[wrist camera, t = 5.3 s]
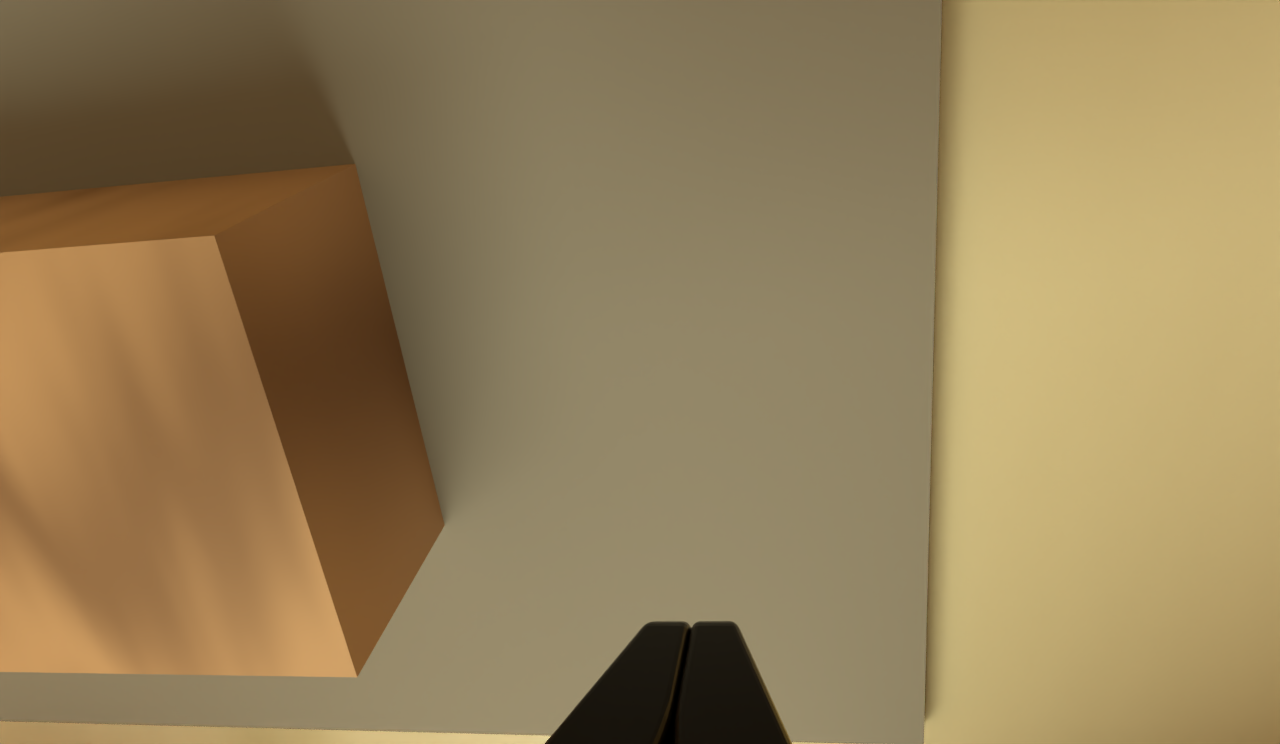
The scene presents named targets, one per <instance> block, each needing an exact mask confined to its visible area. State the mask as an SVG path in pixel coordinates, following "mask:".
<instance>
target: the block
mask: <svg viewBox="0 0 1280 744" xmlns="http://www.w3.org/2000/svg"><path fill="white" fill-rule="evenodd" d="M444 526H445V525H444V521H443V517H442V513H441V509H440V505H439V501H438V497H437V493H436V489H435V484H434V480H433V476H432V472H431V468H430V464H429V460H428V456H427V452H426V448H425V444H424V440H423V436H422V432H421V428H420V424H419V420H418V416H417V412H416V408H415V404H414V400H413V396H412V392H411V387H410V383H409V379H408V375H407V371H406V367H405V363H404V359H403V355H402V351H401V347H400V343H399V339H398V335H397V331H396V327H395V323H394V319H393V315H392V311H391V307H390V303H389V299H388V294H387V290H386V286H385V282H384V278H383V274H382V270H381V266H380V262H379V258H378V254H377V250H376V246H375V242H374V238H373V234H372V230H371V226H370V222H369V218H368V214H367V210H366V206H365V202H364V197H363V193H362V189H361V185H360V181H359V177H358V173H357V169H356V165H355V164H348V165H337V166H327V167H316V168H305V169H294V170H284V171H273V172H262V173H251V174H241V175H230V176H219V177H208V178H198V179H187V180H176V181H165V182H154V183H144V184H133V185H122V186H111V187H101V188H90V189H79V190H68V191H58V192H47V193H36V194H25V195H15V196H4V197H0V672H40V673H107V674H173V675H239V676H305V677H358V675H359V673H360V672H361V670H362V668H363V667H364V665H365V663H366V661H367V660H368V658H369V656H370V654H371V653H372V651H373V649H374V647H375V646H376V644H377V642H378V640H379V639H380V637H381V635H382V633H383V632H384V630H385V628H386V627H387V625H388V623H389V621H390V620H391V618H392V616H393V614H394V613H395V611H396V609H397V607H398V606H399V604H400V602H401V600H402V599H403V597H404V595H405V594H406V592H407V590H408V588H409V587H410V585H411V583H412V581H413V580H414V578H415V576H416V574H417V573H418V571H419V569H420V567H421V566H422V564H423V562H424V561H425V559H426V557H427V555H428V554H429V552H430V550H431V548H432V547H433V545H434V543H435V541H436V540H437V538H438V536H439V534H440V533H441V531H442V529H443V528H444Z"/></svg>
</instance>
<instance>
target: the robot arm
mask: <svg viewBox="0 0 1280 744" xmlns="http://www.w3.org/2000/svg"><path fill="white" fill-rule="evenodd" d="M545 744H792V742H791V740H790V738H789V736H788V733H787V731H786V729H785V727H784V725H783V722H782V720H781V718H780V716H779V714H778V711H777V709H776V707H775V705H774V703H773V700H772V698H771V696H770V694H769V692H768V689H767V687H766V685H765V683H764V681H763V679H762V676H761V674H760V672H759V670H758V668H757V665H756V663H755V661H754V659H753V657H752V654H751V652H750V650H749V648H748V646H747V643H746V641H745V639H744V637H743V635H742V632H741V630H740V628H739V627H738V625H737V624H736V623H734V622H732V621H698V622H696V623H695V624H694V625H693V626H692V628H691V626H690V625H689V624H688V623H687V622H684V621H652V622H648V623H647V624H645V625H644V626H643V627H642V628H641V629H640V630H639V632H638V633H637V634H636V635H635V636H634V638H633V639H632V640H631V641H630V642H629V644H628V645H627V646H626V647H625V648H624V650H623V651H622V652H621V653H620V654H619V656H618V657H617V658H616V659H615V660H614V662H613V663H612V664H611V665H610V666H609V668H608V669H607V670H606V671H605V672H604V673H603V675H602V676H601V677H600V678H599V679H598V681H597V682H596V683H595V684H594V685H593V687H592V688H591V689H590V690H589V691H588V693H587V694H586V695H585V696H584V697H583V699H582V700H581V701H580V702H579V703H578V705H577V706H576V707H575V708H574V709H573V711H572V712H571V713H570V714H569V715H568V717H567V718H566V719H565V720H564V721H563V722H562V724H561V725H560V726H559V727H558V728H557V730H556V731H555V732H554V733H553V734H552V736H551V737H550V738H549V739H548V740H547V742H546V743H545Z"/></svg>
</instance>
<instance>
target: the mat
mask: <svg viewBox="0 0 1280 744" xmlns="http://www.w3.org/2000/svg"><path fill="white" fill-rule="evenodd" d="M941 23H942V0H0V197H4V196H15V195H25V194H36V193H47V192H58V191H68V190H79V189H90V188H101V187H111V186H122V185H133V184H144V183H154V182H165V181H176V180H187V179H198V178H208V177H219V176H230V175H241V174H251V173H262V172H273V171H284V170H294V169H305V168H316V167H327V166H337V165H348V164H355V165H356V169H357V173H358V177H359V181H360V185H361V189H362V193H363V197H364V202H365V206H366V210H367V214H368V218H369V222H370V226H371V230H372V234H373V238H374V242H375V246H376V250H377V254H378V258H379V262H380V266H381V270H382V274H383V278H384V282H385V286H386V290H387V294H388V299H389V303H390V307H391V311H392V315H393V319H394V323H395V327H396V331H397V335H398V339H399V343H400V347H401V351H402V355H403V359H404V363H405V367H406V371H407V375H408V379H409V383H410V387H411V392H412V396H413V400H414V404H415V408H416V412H417V416H418V420H419V424H420V428H421V432H422V436H423V440H424V444H425V448H426V452H427V456H428V460H429V464H430V468H431V472H432V476H433V480H434V484H435V489H436V493H437V497H438V501H439V505H440V509H441V513H442V517H443V521H444V525H445V526H444V528H443V529H442V531H441V533H440V534H439V536H438V538H437V540H436V541H435V543H434V545H433V547H432V548H431V550H430V552H429V554H428V555H427V557H426V559H425V561H424V562H423V564H422V566H421V567H420V569H419V571H418V573H417V574H416V576H415V578H414V580H413V581H412V583H411V585H410V587H409V588H408V590H407V592H406V594H405V595H404V597H403V599H402V600H401V602H400V604H399V606H398V607H397V609H396V611H395V613H394V614H393V616H392V618H391V620H390V621H389V623H388V625H387V627H386V628H385V630H384V632H383V633H382V635H381V637H380V639H379V640H378V642H377V644H376V646H375V647H374V649H373V651H372V653H371V654H370V656H369V658H368V660H367V661H366V663H365V665H364V667H363V668H362V670H361V672H360V673H359V675H358V677H305V676H239V675H173V674H107V673H40V672H0V721H18V722H56V723H94V724H132V725H170V726H208V727H246V728H285V729H323V730H361V731H399V732H437V733H475V734H513V735H551V736H552V734H553V733H554V732H555V731H556V730H557V728H558V727H559V726H560V725H561V724H562V722H563V721H564V720H565V719H566V718H567V717H568V715H569V714H570V713H571V712H572V711H573V709H574V708H575V707H576V706H577V705H578V703H579V702H580V701H581V700H582V699H583V697H584V696H585V695H586V694H587V693H588V691H589V690H590V689H591V688H592V687H593V685H594V684H595V683H596V682H597V681H598V679H599V678H600V677H601V676H602V675H603V673H604V672H605V671H606V670H607V669H608V668H609V666H610V665H611V664H612V663H613V662H614V660H615V659H616V658H617V657H618V656H619V654H620V653H621V652H622V651H623V650H624V648H625V647H626V646H627V645H628V644H629V642H630V641H631V640H632V639H633V638H634V636H635V635H636V634H637V633H638V632H639V630H640V629H641V628H642V627H643V626H644V625H645V624H647V623H648V622H652V621H684V622H687V623H688V624H689V625H690V626H691V628H692V626H693V625H694V624H695V623H696V622H698V621H732V622H734V623H736V624H737V625H738V627H739V628H740V630H741V632H742V635H743V637H744V639H745V641H746V643H747V646H748V648H749V650H750V652H751V654H752V657H753V659H754V661H755V663H756V665H757V668H758V670H759V672H760V674H761V676H762V679H763V681H764V683H765V685H766V687H767V689H768V692H769V694H770V696H771V698H772V700H773V703H774V705H775V707H776V709H777V711H778V714H779V716H780V718H781V720H782V722H783V725H784V727H785V729H786V731H787V733H788V736H789V738H790V740H791V742H818V743H856V744H924V713H925V673H926V632H927V591H928V551H929V510H930V470H931V429H932V388H933V348H934V307H935V267H936V226H937V185H938V145H939V104H940V64H941Z"/></svg>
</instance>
